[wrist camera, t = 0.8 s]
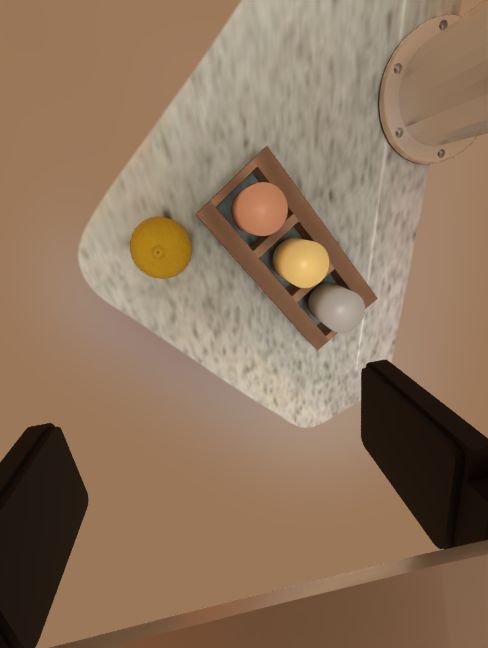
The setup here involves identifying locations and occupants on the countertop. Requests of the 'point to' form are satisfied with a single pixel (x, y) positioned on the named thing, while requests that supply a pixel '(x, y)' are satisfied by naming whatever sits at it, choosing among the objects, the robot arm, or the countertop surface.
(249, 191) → the pink cylinder
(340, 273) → the wooden compartment tray
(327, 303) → the grey short rounded cylinder
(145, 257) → the lemon
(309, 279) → the yellow short cylinder
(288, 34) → the countertop surface
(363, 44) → the countertop surface
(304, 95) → the countertop surface
